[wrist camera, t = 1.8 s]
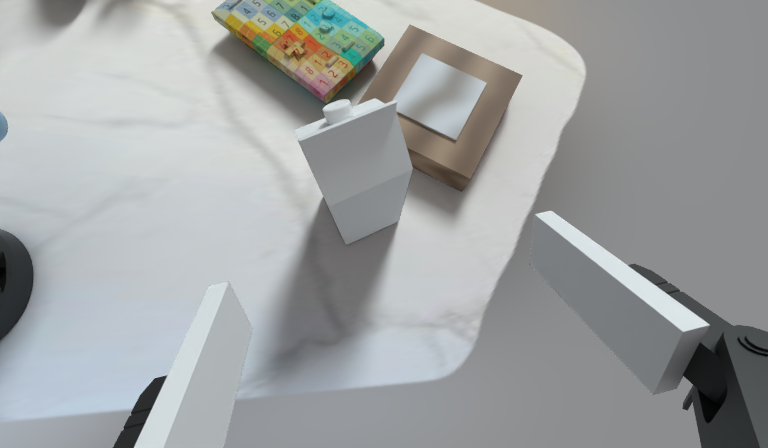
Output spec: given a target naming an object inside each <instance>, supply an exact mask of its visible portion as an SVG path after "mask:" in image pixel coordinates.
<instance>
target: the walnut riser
mask: <svg viewBox="0 0 768 448" xmlns="http://www.w3.org/2000/svg"><path fill="white" fill-rule="evenodd" d="M522 76H523V75H520V74H518V73H516V72H514V71H512V70H509V69H507V68H505V67H503V66H500V65H498V64H496V63H494V62H492V61H489V60H487V59H485V58H483V57H481V56H478V55H476V54H474V53H472V52H469V51H467V50H465V49H463V48H461V47H458V46H456V45H454V44H452V43H450V42H447V41H445V40H443V39H441V38H438V37H436V36H434V35H432V34H430V33H427V32H425V31H423V30H421V29H419V28H416V27H414V26H412V25H409V26H408V28H407V30H406V31H405V33H404V34H403V36H402V37H401V39H400V40H399V42H398V43H397V45H396V46H395V48H394V49H393V51H392V53H391V54H390V56H389V57H388V59H387V60H386V62H385V63H384V65H383V66H382V68H381V69H380V71H379V72H378V74H377V76H376V77H375V79H374V80H373V82H372V83H371V85H370V86H369V88H368V89H367V91H366V92H365V94H364V95H363V97H362V99H361V100H360V102H359V103H358V105H359V104H361V103H364V102H366V101H369V100H372V99H375V98H376V99H378V100H379V101H381V102H383V103H385V104H386V103H388V102H391V101H393V100H396V101H397V107H396V113H397V116H398V119H399V123H400V126H401V130H402V133H403V136H404V140H405V143H406V147H407V150H408V153H409V157H410V160H411V164H412V167H414V168H416V169H418V170H420V171H422V172H424V173H426V174H428V175H430V176H432V177H434V178H436V179H438V180H440V181H442V182H444V183H446V184H448V185H450V186H452V187H454V188H456V189H458V190H460V191H462V190H463V189H464V187H465V186H466V184H467V183H468V182H469V180H470V179H471V177H472V175H473V173H474V171H475V169H476V167H477V165H478V163H479V161H480V159H481V157H482V155H483V153H484V151H485V149H486V147H487V145H488V143H489V141H490V139H491V137H492V135H493V133H494V131H495V129H496V127H497V125H498V123H499V121H500V119H501V117H502V115H503V113H504V111H505V109H506V108H507V106H508V104H509V102H510V100H511V98H512V96H513V94H514V92H515V90H516V88H517V86H518V84H519V82H520V80H521V78H522Z"/></svg>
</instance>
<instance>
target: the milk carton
mask: <svg viewBox="0 0 768 448" xmlns="http://www.w3.org/2000/svg"><path fill="white" fill-rule="evenodd" d="M396 107H397V101H396V100H393V101H391V102H388V103H386V104H385V103H383V102H381V101H379V100H378V99H376V98H375V99H372V100H369V101H366V102H364V103H361V104H359V105H356V106H354V107H352V106H351V103H350V101H349V100H347V99H343V100H338V101H335V102H332V103H330V104H328V105H326V106H325V107H324V108H323V110H322V111H323V114H324V116H325V118H323V119H321V120H318V121H316V122H313V123H311V124H308V125H306V126H303V127H301V128H298V129H296V130H294V133H295V135H296V137H297V139H298V142H299V144H300V146H301V148H302V151H303V153H304V155H305V157H306V159H307V162H308V164H309V166H310V168H311V170H312V173H313V175H314V177H315V179H316V181H317V183H318V186H319V188H320V190H321V192H322V194H323V197H324V199H325V201H326V203H327V205H328V208H329V210H330V212H331V214H332V216H333V218H334V221H335V223H336V225H337V227H338V229H339V231H340V233H341V236H342V238H343V240H344V242H345V244H346V245H348V244H350V243H352V242H355V241H357V240H359V239H361V238H363V237H366V236H368V235H370V234H372V233H374V232H377V231H379V230H381V229H383V228H385V227H388V226H390V225H392V224H394V223H396V222H398V221H399V219H400V216H401V212H402V208H403V204H404V200H405V197H406V193H407V189H408V185H409V181H410V178H411V174H412V170H413V167H412V164H411V160H410V157H409V153H408V150H407V147H406V143H405V140H404V136H403V133H402V130H401V126H400V123H399V119H398V116H397V113H396Z"/></svg>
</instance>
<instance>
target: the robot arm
mask: <svg viewBox="0 0 768 448" xmlns="http://www.w3.org/2000/svg"><path fill="white" fill-rule="evenodd" d="M7 130H8V124H7V120H6V119H5V117H4V115H3V114H2V113H1V112H0V141H1V140H2V139H3V138H4V137H5V136H6V134H7V132H8V131H7ZM532 235H533V236H532V244H531V253H530V263H529V264H530V266H532V268H533V269H534V270H535V271H536V272H537V273H538V274H539V275H540V276H541V277H542V278H543V279H544V280H545V281H546V283H547V284H549V286H550V287H551V288H552V289H553V290H554V291H555V292H556V293H557V294H558V295H559V296H560V297H561V298H562V299H563V300H564V302H565V303H566V304H567V305H568V306H569V307H570V308H571V309H572V310H573V311H574V312H575V313H576V314H577V315H578V316H579V317H580V318H581V319H582V320H583V321H584V322H585V324H586V325H587V326H588V327H589V328H590V329H591V330H592V331H593V332H594V333H595V334H596V335H597V336H598V337H599V338H600V339H601V340H602V341H603V342H604V344H605V345H606V346H607V347H608V348H609V349H610V350H611V351H612V352H613V353H614V354H615V355H616V356H617V357H618V358H619V359H620V360H621V361H622V362H623V364H624V365H625V366H626V367H627V368H628V369H629V370H630V371H631V372H632V373H633V374H634V375H635V376H636V377H637V378H638V379H639V380H640V382H642V384H643V385H644V386H645V387H646V388H647V389H648V390H649V391H650V392H651V393H652V394H653V395H655V394H659V393H662V392H666V391H670V390H673V389H676V388H677V387H678V385H679V383H680V381H681V379H682V377H683V376H684V377H685V378H686V379H688V380H689V381H690V382H691V383H692V384H693V386H692V388H691V390H690V392H689V393H688V395H687V397H686V399H685V400H684V402H683V409H685V410H688V409H689V407H690V405H691V403H692V402H693V406H694V411H695V416H696V421H697V426H698V432H699V436H700V442H701V447H702V448H768V332H766V331H763V330H760V329H757V328H754V327H749V326H741V325H736V326H733V325H731V324H729V323H728V322H726V321H725V320H723V319H722V318H720V317H719V316H718V315H716V314H715V313H713V312H712V311H710V310H709V309H707V308H706V307H704V306H703V305H701V304H700V303H698V302H697V301H695V300H694V299H693V298H691V297H690V296H688V295H687V294H685V293H684V292H680V290H679V289H678V288H676V287H675V286H673V285H672V284H671V283H669V284H668V283H667V281H666V280H665V279H663V278H662V277H660V276H659V275H657V274H656V273H654V272H653V271H651V270H648V269H646V268H644V267H641V266H639V265H636V264H631V265H626V264H625V263H623V262H622V261H620V260H619V259H618V258H616V257H615V256H614V255H612V254H611V253H609V252H608V251H607V250H605V249H604V248H602V247H601V246H599V245H598V244H597V243H595V242H594V241H593V240H591V239H590V238H588V237H587V236H586V235H584V234H583V233H581V232H580V231H578V230H577V229H576V228H575V227H573V226H572V225H570V224H569V223H568V222H566V221H564V220H563V219H562V218H560V217H559V216H558V215H556V214H555V213H554V212H552V211H547V212H543V213H538V214H535V217H534V225H533V234H532ZM32 283H33V266H32V261H31V258H30V255H29V253H28V251H27V249H26V248H25V246H24V245H23V243H22V242H21V241H20V240H19V239H18V238H16V237H15V236H14V235H12V234H10V233H9V232H6V231H4V230H1V229H0V339H1V338H2V337H3V336H4V335H5V334H6V333H7V332H8V331H9V330H10V329H11V328H12V326H13V325H14V324H15V323H16V321H17V320H18V318H19V317H20V315H21V314H22V312H23V310H24V308H25V306H26V304H27V302H28V299H29V296H30V293H31V289H32ZM252 329H253V328H252V326H251V324H250V322H249V320H248V318H247V316H246V314H245V312H244V310H243V308H242V306H241V304H240V302H239V300H238V298H237V296H236V294H235V292H234V290H233V288H232V286H231V284H230V282H229V281H228V282H223V283H219V284H214V285H210V286H209V288H208V290H207V292H206V294H205V297H204V299H203V301H202V303H201V305H200V307H199V309H198V311H197V314H196V316H195V318H194V320H193V322H192V324H191V326H190V329H189V331H188V333H187V335H186V337H185V339H184V341H183V344H182V346H181V348H180V350H179V352H178V354H177V356H176V359H175V361H174V363H173V365H172V367H171V369H170V371H169V374H168V375H167V376H163V377H159V378H155V379H154V380H153V381H152V382H151V383H150V385H149V386H148V387H147V388H146V389H145V390H144V391H143V393H142V394H141V395H140V397H139V399H138V401H137V402H136V404H135V406H134V408H133V410H132V412H131V413H132V415H131V416H129V418H128V420H127V422H126V424H125V426H124V430H123V431H122V432H121V433H120V435H119V437H118V439H117V441H116V443H115V445H114V447H113V448H224V444H225V440H226V435H227V432H228V427H229V424H230V420H231V415H232V411H233V407H234V403H235V399H236V395H237V391H238V387H239V383H240V379H241V375H242V370H243V366H244V362H245V358H246V354H247V350H248V346H249V342H250V338H251V334H252Z"/></svg>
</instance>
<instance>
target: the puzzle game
mask: <svg viewBox="0 0 768 448" xmlns="http://www.w3.org/2000/svg"><path fill="white" fill-rule="evenodd" d="M211 13H212V15H213V17H214V19H215V20H216V21H217V22H218V23H219V24H221V25H222V26H223V27H225V28H226V29H227V30H229V31H230V32H231V33H233V34H234V35H235V36H237V37H238V38H239V39H240V40H242V41H243V42H244V43H246V44H247V45H248V46H250V47H251V48H252V49H254V50H255V51H256V52H258V53H259V54H260V55H262V56H263V57H264V58H266V59H267V60H268V61H270V62H271V63H272V64H274V65H275V66H276V67H278V68H279V69H280V70H282V71H283V72H284V73H286V74H287V75H288V76H290V77H291V78H292V79H294V80H295V81H296V82H298V83H299V84H300V85H302V86H303V87H304V88H306V89H307V90H308V91H310V92H311V93H312V94H314V95H315V96H316V97H318V98H319V99H320V100H321V101H323V102H324V103H328V102H329V101H330V100H331V99H332V98H333V97H334V96H335V95H336V94H337V93H338V92H339V91H340V90H341V89H342V88H343V87H345V86H346V85H347V84H348V83H349V82H350V81H351V80H352V79H353V78H354V77H355V76H356V75H357V74H358V73H359V72H360V71H361V70H362V69H363V68H364V67H365V66H366V65H367V64H368V63H369V62H370V61H371V60H372V59H373V57H374V56H375V55H376V53H377V52H378V51H379V50H380V49H381V48H382V47H383V46H384V38H383V37H382V36H381V35H380V34H379V33H378V32H376V31H375V30H373V29H372V28H370V27H369V26H367V25H366V24H364V23H363V22H361V21H360V20H358V19H357V18H355V17H354V16H353V15H351V14H350V13H348V12H347V11H345V10H344V9H342V8H341V7H339V6H338V5H336V4H335V3H333V2H332V1H330V0H226V1H225V2H224V3H222V4H221V5H220V6H219V7H217V8H216V9H215V10H214V11H212V12H211Z"/></svg>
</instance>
